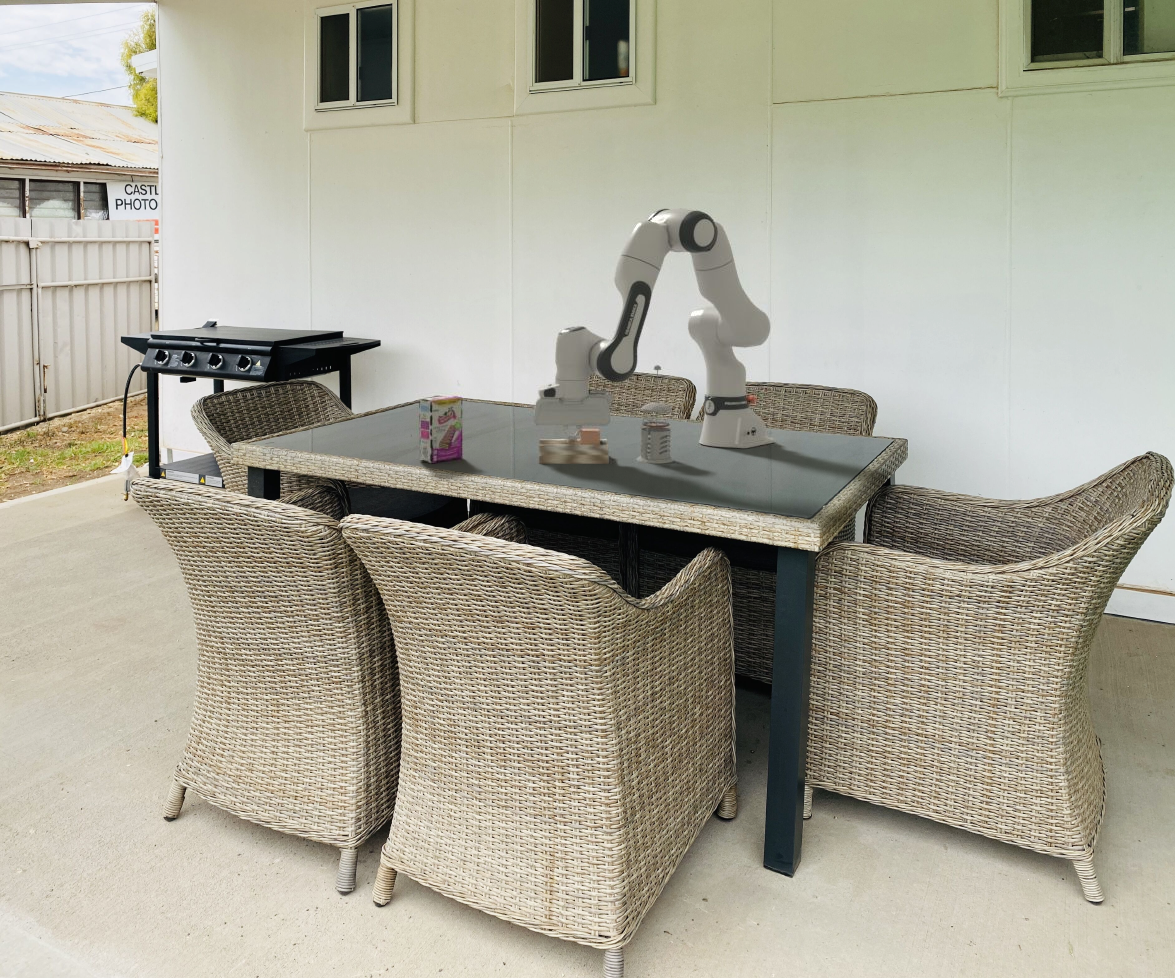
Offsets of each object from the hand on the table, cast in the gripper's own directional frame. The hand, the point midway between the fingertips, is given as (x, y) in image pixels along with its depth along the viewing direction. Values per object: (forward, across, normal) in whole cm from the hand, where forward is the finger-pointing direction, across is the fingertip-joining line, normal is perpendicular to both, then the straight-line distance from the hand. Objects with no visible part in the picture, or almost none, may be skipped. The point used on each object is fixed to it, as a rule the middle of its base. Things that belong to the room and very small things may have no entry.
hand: (571, 442), depth 257 cm
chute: (+4, 0, 0) cm, 5 cm away
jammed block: (+2, -5, 0) cm, 5 cm away
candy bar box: (+5, +34, +1) cm, 34 cm away
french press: (+5, -22, +2) cm, 22 cm away
